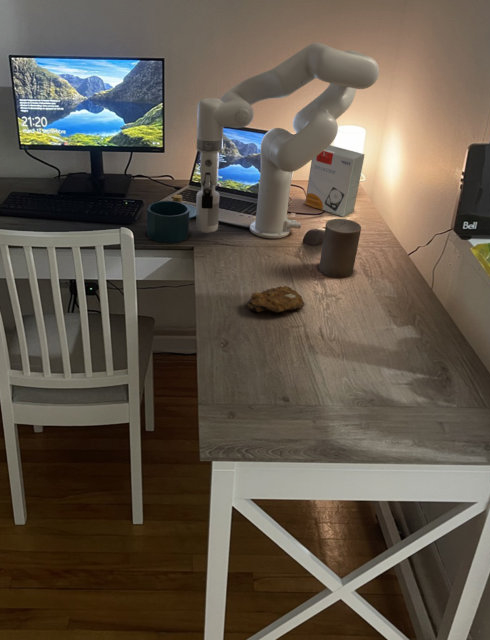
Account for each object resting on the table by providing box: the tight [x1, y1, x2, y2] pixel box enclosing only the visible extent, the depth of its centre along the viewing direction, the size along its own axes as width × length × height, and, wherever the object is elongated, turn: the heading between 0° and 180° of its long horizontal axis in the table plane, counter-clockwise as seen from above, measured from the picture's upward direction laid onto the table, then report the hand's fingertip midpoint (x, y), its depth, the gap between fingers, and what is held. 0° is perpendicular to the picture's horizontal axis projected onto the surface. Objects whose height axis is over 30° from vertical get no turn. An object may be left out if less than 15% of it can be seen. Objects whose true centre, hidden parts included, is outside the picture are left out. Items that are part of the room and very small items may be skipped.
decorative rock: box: [246, 285, 305, 314], centre depth 172 cm, size 11×4×15 cm
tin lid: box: [172, 194, 196, 220], centre depth 222 cm, size 14×14×6 cm
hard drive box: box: [304, 144, 366, 218], centre depth 227 cm, size 16×8×20 cm, turn 49°
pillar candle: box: [318, 218, 362, 278], centre depth 189 cm, size 10×10×15 cm
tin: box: [146, 200, 190, 244], centre depth 207 cm, size 13×13×8 cm
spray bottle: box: [195, 183, 220, 233], centre depth 204 cm, size 7×7×18 cm
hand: (207, 202), depth 204 cm, fingers closed on spray bottle, 6 cm apart
